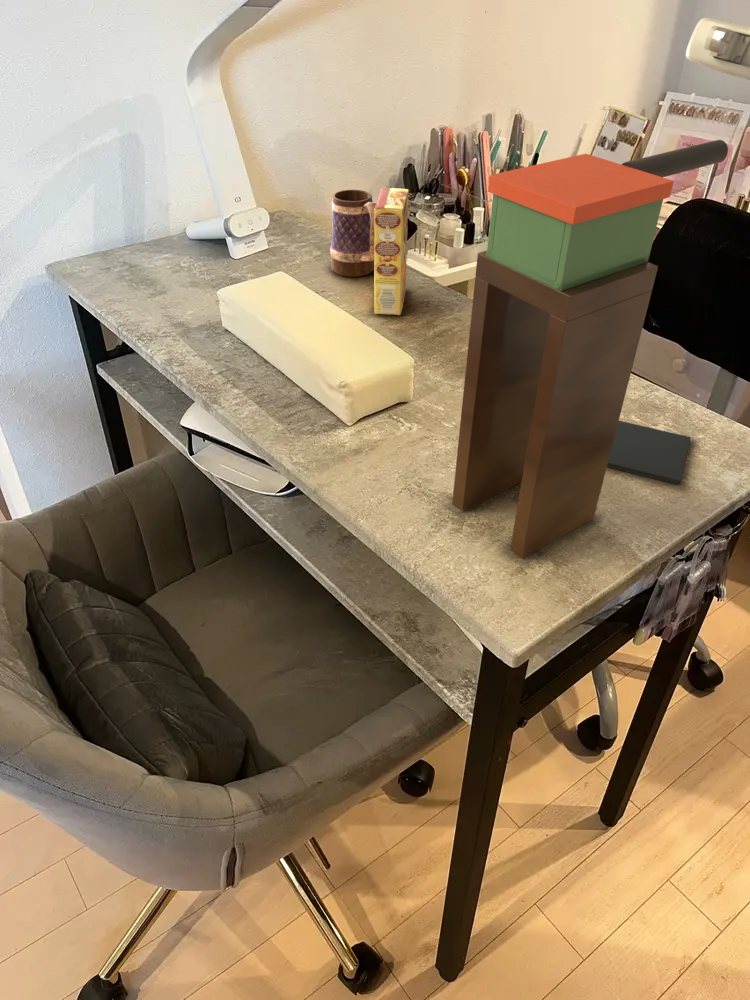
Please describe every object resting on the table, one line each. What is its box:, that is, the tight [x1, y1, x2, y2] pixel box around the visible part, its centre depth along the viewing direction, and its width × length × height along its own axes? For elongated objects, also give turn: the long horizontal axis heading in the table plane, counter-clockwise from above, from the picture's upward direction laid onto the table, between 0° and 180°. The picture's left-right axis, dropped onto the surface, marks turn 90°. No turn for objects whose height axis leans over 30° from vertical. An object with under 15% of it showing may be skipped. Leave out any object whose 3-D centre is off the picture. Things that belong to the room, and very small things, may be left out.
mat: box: [607, 420, 691, 486], centre depth 85 cm, size 10×9×1 cm
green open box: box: [486, 193, 664, 291], centre depth 59 cm, size 10×8×5 cm
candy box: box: [373, 187, 410, 316], centre depth 110 cm, size 9×4×15 cm, turn 174°
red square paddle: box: [487, 139, 729, 225], centre depth 60 cm, size 23×9×2 cm, turn 126°
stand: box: [451, 250, 659, 559], centre depth 69 cm, size 10×10×26 cm
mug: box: [330, 189, 377, 278], centre depth 119 cm, size 10×7×12 cm
